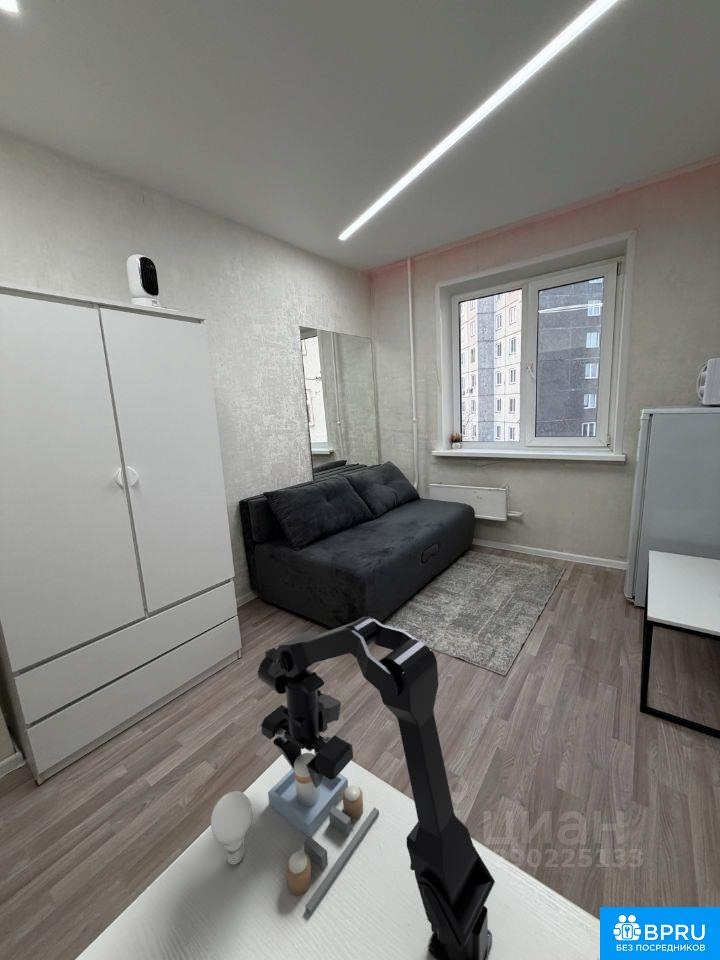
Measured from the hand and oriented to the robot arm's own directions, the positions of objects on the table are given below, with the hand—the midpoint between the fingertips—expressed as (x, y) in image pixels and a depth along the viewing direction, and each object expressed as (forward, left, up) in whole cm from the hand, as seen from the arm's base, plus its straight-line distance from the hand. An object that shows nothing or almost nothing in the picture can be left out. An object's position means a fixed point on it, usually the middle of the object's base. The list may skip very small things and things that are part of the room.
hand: (308, 778), depth 71 cm
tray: (0, 0, -4) cm, 4 cm away
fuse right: (-8, -3, -4) cm, 10 cm away
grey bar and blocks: (-10, +4, -4) cm, 11 cm away
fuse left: (-8, +11, -4) cm, 14 cm away
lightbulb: (+3, +14, -4) cm, 15 cm away
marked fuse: (0, 0, -3) cm, 3 cm away
